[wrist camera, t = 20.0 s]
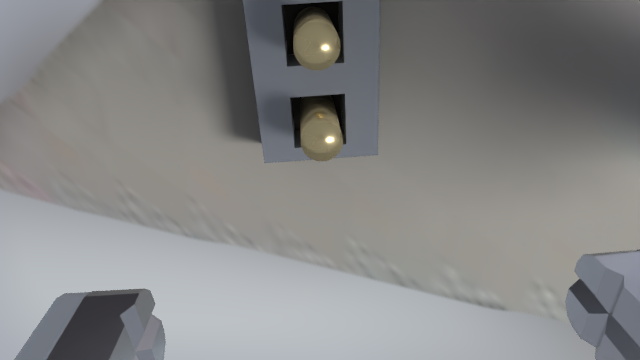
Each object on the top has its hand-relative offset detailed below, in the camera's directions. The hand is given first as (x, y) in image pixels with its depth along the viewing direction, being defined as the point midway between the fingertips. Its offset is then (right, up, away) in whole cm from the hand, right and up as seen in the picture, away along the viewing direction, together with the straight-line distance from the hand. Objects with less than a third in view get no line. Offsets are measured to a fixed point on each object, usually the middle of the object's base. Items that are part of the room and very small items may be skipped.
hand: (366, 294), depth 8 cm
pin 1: (-1, +15, +27) cm, 31 cm away
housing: (-1, +12, +29) cm, 31 cm away
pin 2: (-1, +9, +31) cm, 32 cm away
